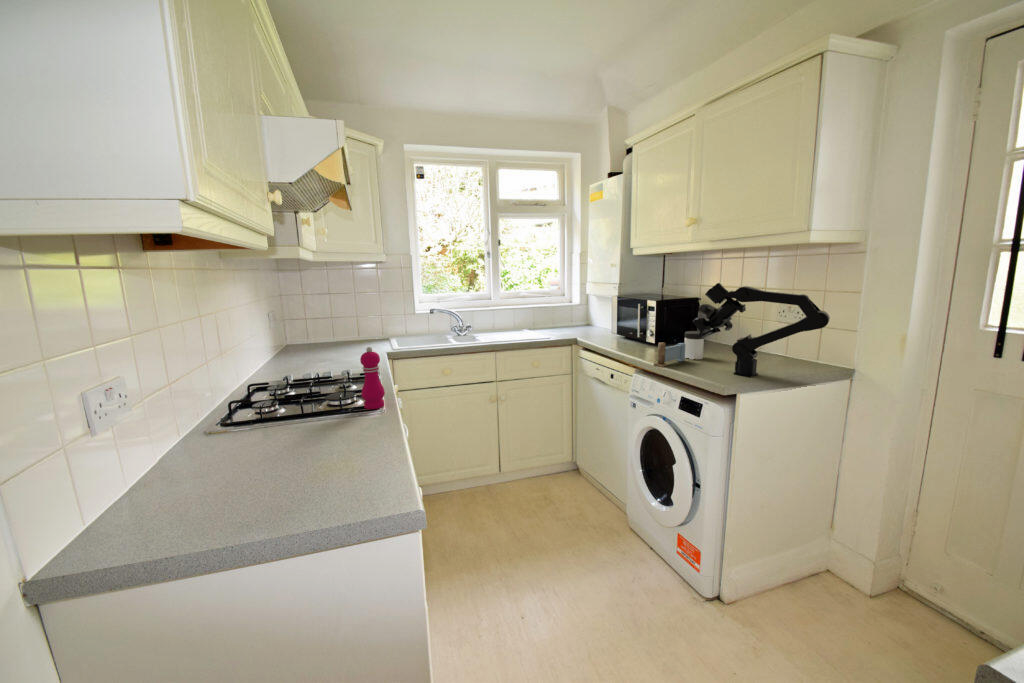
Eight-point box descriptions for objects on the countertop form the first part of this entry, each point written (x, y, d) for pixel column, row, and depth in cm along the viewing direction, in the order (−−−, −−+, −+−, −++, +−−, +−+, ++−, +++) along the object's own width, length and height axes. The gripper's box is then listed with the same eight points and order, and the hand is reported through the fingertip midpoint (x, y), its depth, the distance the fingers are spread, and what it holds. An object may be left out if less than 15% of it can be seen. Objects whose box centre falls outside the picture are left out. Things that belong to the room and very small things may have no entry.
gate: (666, 364, 180) (667, 347, 179) (661, 363, 182) (662, 346, 181) (684, 360, 187) (685, 343, 186) (680, 359, 189) (680, 342, 188)
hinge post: (668, 365, 179) (669, 343, 178) (662, 367, 177) (663, 344, 175) (659, 363, 183) (660, 341, 181) (653, 365, 181) (654, 342, 179)
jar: (683, 355, 199) (684, 330, 197) (701, 356, 196) (703, 331, 194) (684, 359, 191) (685, 333, 188) (703, 360, 188) (704, 334, 186)
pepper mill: (373, 411, 132) (368, 349, 128) (358, 408, 135) (352, 348, 132) (390, 404, 138) (385, 345, 134) (375, 401, 141) (369, 344, 138)
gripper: (727, 297, 173) (702, 322, 184) (698, 297, 164) (673, 323, 175) (744, 316, 167) (717, 341, 178) (715, 318, 158) (689, 344, 169)
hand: (699, 337), depth 175 cm, fingers closed
